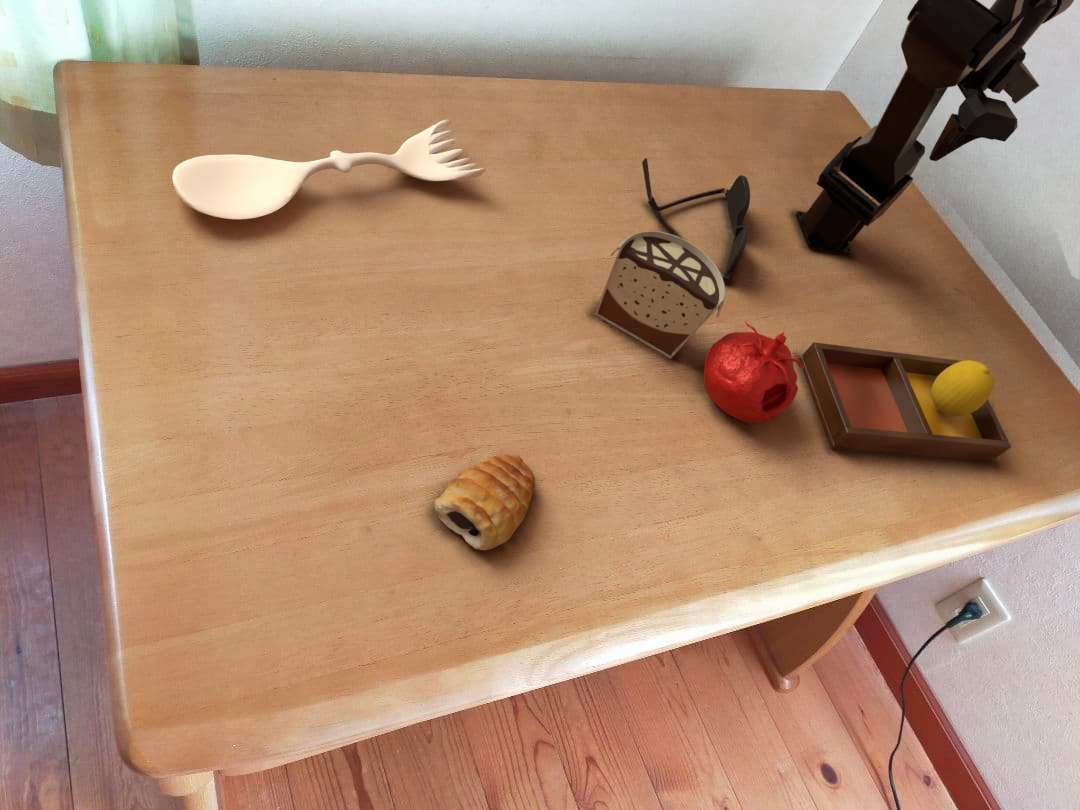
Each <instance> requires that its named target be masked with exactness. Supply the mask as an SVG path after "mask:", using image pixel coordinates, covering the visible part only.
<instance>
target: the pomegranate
mask: <svg viewBox="0 0 1080 810" xmlns="http://www.w3.org/2000/svg"><path fill="white" fill-rule="evenodd" d="M744 323H745V325H746V326H747V327H748V328H750V329H751V330H753V331H734V332H730V333H728V334H727V333H726V334H725V335H724V336H722V337H721V338H719V340H717V341H716V342H714V343H713V344H712V345H711V346H710V348H709V349H708V352H707V354H706V358H705V360H704V367H703V383H704V385H703V386H704V389H705V391H706V394H707V395H708V397H709V398H710V399H711V400H712V401H713V402H714V403H715V404H716V406H717V407H719V409H720V410H722V412H724V413H726V414H727V415H729V416H731V417H732V418H735V419H737V420H739V421H741V422H746V423H752V424H760V423H764V422H767V421H768V420H771V419H773V418H775V417H776V416H778V415H780V414H782V413H783V412H785V411H786V410H787V409H789V407H790V406H791V405H792V403H793V401H794V400H795V398H796V395H797V392H798V390H799V386H798V385H797V381H798V374H797V372H796V370H795V367H794V362H795V363H796V364H797V365H798V367H799V368H800V369H802V368H804V366H802V365H801V363H800V361H799V358H796V357H793V356H792V352H791V350H790V349H789V347H788V345H786V344H785V343H786V341H787V336H786V335H784V334H785V332H784V331H783V332H781V333H778V335H776V336H775V338H772V337H769V336H767V335H764V334H762V333H761V334H760V333H759V332H757V329H756V328H755V327H754V326H752V325H750V324H749V323H748V322H747V320H744Z"/></svg>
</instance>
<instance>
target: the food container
mask: <svg viewBox="0 0 1080 810" xmlns="http://www.w3.org/2000/svg"><path fill="white" fill-rule="evenodd" d="M682 238H683V237H682ZM682 238H680V237H678V236H675V235H672V234H671V233H670V232H669V233H668V232H665V231H659V230H658V231H657V230H645V231H639V232H636V233H634V234H632V235H630V236H628V237H627V238H625V239H624V240H623V241H622V242H620V243H619V244H618V246H617V247H616V248H615V249H614V250H613V251H612V252H611V253H610V257H612V256H613V255H614V254H615V253H616V252H617V251H618V252H617V255H616V257H615V261H614V263H613V266H612V267H611V271H610V274H609V275H608V278H607V281H606V283H605V286H604V289H603V291H602V294H601V296H600V299H599V302H598V304H597V306H596V309H595V312H594V315H595V316H596V317H598V318H599V319H600V320H603V321H605V322H606V323H608V324H610V325H612V326H613V327H614V328H617V329H619V330H620V331H622V332H624V333H625V334H627V335H628V336H630V337H632V338H635V339H636V340H638V341H639V342H641V343H643V344H644V345H645V346H648V347H650V348H651V349H653V350H654V351H656V352H658V353H660V354H661V355H663V356H665V357H666V358H669V359H670V360H671V359H672V358H673V357H674V356H675V355H676V354H677V353H678V352H679V351H680V349H682V347H684V346H685V344H686V343H687V342H688V341H689V339H691V338H692V337H693V335H694V334H695V333H697V331H699V329H700V328H701V327H702V326H703V325H704V324H705V323H706V322H707V320H708V319H709V318H711V316H712V315H713V314H714V313H715V312H716V311H717V314H716V318H719V316H720V315H721V314H720V313H721V312H722V309H723V306H724V302H725V295H726V294H725V293H726V288H725V281H723V279H722V276H721V274H722V273H721V272H720V270H719V269H718V267H717V265H716V264H715V262H714V261H713V260H712V258H710V257H709V256H708V255H707V254H706V253H705V252H704V251H703V250H701V248H699V247H698V246H697V245H695V244H693V243H691V242H690V241H688V240H687V239H684V238H683V239H682Z"/></svg>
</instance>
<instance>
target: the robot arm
mask: <svg viewBox="0 0 1080 810" xmlns="http://www.w3.org/2000/svg"><path fill="white" fill-rule="evenodd" d="M1074 2H1075V0H995V1H994V2H993V3H992V5H991V6H990V7H989V8H988V6H985V4H983V3H981V2H980V1H979V0H917V1H916V2H915V3H914V5H913V7H912V8H911V10H910V11H909V13H908V14H907V18H906V20H907V21H908V23H907V26H906V28H905V31H904V34H903V36H902V40H901V42H900V48H901V51H902V55H903V58H904V61H905V64H906V69H905V71H904V73H903V74H902V77H901V78H900V81H899V82H898V85H897V87H896V88H895V90H894V92H893V94H892V96H891V98H890V100H889V102H888V104H887V106H886V108H885V110H884V112H883V114H882V116H881V118H880V120H879V121H878V123H877V125H874V126H873V127H872V128H870V130H869V131H867V132H866V134H864V135H863V136H862V135H860V136H858V137H857V138H856V139H854V140H853V141H848V142H847V143H846V144H845V145H844V146H843V147H842V148H841V149H840V151H839V152H837V154H836V155H835V156H834V157H833V158H832V159H831V160H830V161H829V163H828V164H827V165H826V166H825V168H824V169H823V170H822V171H821V173H820V174H819V176H818V180H817V181H816V185H817V186H818V187H820V188H821V189H822V190H821V192H820V194H819V195H818V196H817V197H816V199H815V200H814V202H813V203H812V204H811V206H810V207H809V208H808V210H807V211H801V210H798V211H796V213H795V217H796V220H797V223H798V226H799V227H800V230H801V233H802V235H803V237H804V240H805V242H806V244H807V247H808V248H809V249H811V250H817V251H821V252H822V251H823V252H829V253H835V254H839V255H840V254H842V255H847V256H849V255H851V253H852V251H853V250H852V248H851V245H850V244H849V243H852V242H853V241H854V240H855V238H856V237H857V236H858V234H859V233H860V232H861V231H862V230H863V228H864V227H865V226H866V227H868V226H869V225H871V224H872V223H874V222H875V221H876V220H878V219H880V218H881V217H883V215H884V214H885V213H886V212H887V210H889V209H890V207H891V206H892V205H893V204H894V203H895V202H896V201H897V199H899V198H900V196H901V195H902V194H903V193H904V192H905V190H907V188H908V187H909V186H910V185H911V183H912V182H913V181H914V177H913V176H912V175H913V173H914V172H915V170H916V168H917V166H918V165H919V162H920V161H921V160H922V158H923V156H924V155H925V153H926V146H925V145H924V144H922V143H921V141H919V140H917V139H918V138H919V136H920V134H921V133H922V131H923V130H924V128H925V126H926V125H927V123H928V122H929V120H930V118H931V116H932V114H933V113H934V111H935V109H936V108H937V106H938V105H939V103H940V101H941V100H942V98H943V96H944V94H945V93H946V92H947V90H948V88H952V87H956V86H957V87H958V89H959V90H960V93H961V94H962V95H963V97H964V98H965V99H964V100H963V101H962V102H961V103H960V105H959V106H958V110H957V114H956V113H951V114H950V115H949V117H948V120H947V122H946V123H945V125H944V128H943V129H942V131H941V133H940V135H939V136H938V138H937V140H936V142H935V144H934V146H933V148H932V150H931V152H930V155H929V157H928V158H929V160H930V161H932V162H938V161H940V160H942V159H943V158H945V157H946V156H947V155H949V154H951V153H953V152H954V151H956V150H958V149H959V148H961V147H963V146H965V145H966V144H968V143H970V142H972V141H975V140H978V139H982V138H983V139H987V140H991V141H992V140H995V141H1000V142H1004V143H1005V142H1006V141H1007V140H1008V139H1009V138H1010V137H1011V135H1012V134H1013V133H1014V132H1015V131H1016V130H1017V129H1018V118H1017V116H1016V115H1015V114H1014V112H1013V110H1012V109H1011V107H1010V106H1009V104H1008V103H1007V102H1006V101H1005V100H1001V99H997V98H993V97H989V96H987V94H986V93H985V91H986V90H990V91H991V92H992V93H995V94H1001V92H1002V91H1004V92H1005V93H1006V94H1007V95H1008V96H1009V97H1010V98H1011V102H1012V103H1013V104H1018V103H1019V102H1020V101H1021V100H1023V99H1024V98H1025V97H1027V96H1028V95H1030V94H1031V93H1032V92H1033V91H1035V90H1036V89H1037V88H1039V87H1040V84H1039V82H1038V81H1037V79H1036V78H1035V77H1034V75H1033V74H1032V73H1031V71H1030V69H1029V68H1028V67H1027V66H1026V65H1025V63H1024V61H1025V59H1026V55H1027V52H1026V51H1025V50H1024V46H1025V45H1026V44H1027V42H1029V40H1030V39H1031V38H1032V37H1033V35H1034V34H1035V32H1036V31H1038V29H1039V28H1040V27H1041V25H1043V24H1045V23H1047V22H1048V21H1051V20H1052V19H1054V18H1055V17H1057V16H1059V15H1061V14H1062V13H1064V12H1065V11H1067V10H1068V9H1069V8H1070V7H1071V6H1072V4H1073V3H1074ZM840 172H841V173H840ZM842 174H843V175H844V176H843V175H842ZM845 176H846V177H847V178H848V179H847V178H846V177H845ZM849 180H850V181H849ZM851 181H852V182H853V183H854V184H855V185H854V184H853V183H852V182H851ZM856 185H857V186H856ZM859 188H860V189H861V190H860V189H859ZM863 191H864V192H865V193H866V194H867V195H866V194H865V193H864V192H863ZM868 195H869V196H870V197H871V198H872V199H871V198H870V197H869V196H868ZM875 201H876V202H877V203H876V202H875Z"/></svg>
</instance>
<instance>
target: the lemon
mask: <svg viewBox="0 0 1080 810" xmlns="http://www.w3.org/2000/svg"><path fill="white" fill-rule="evenodd" d="M959 361H960V362H957V363H955V364H953V365H951V366H949V367H948V368H946V369H945V370H944V371H942V372H941V373H940V374H939V375H938V377H937V378H936V380H935V381H934V383H933V385H932V390H931V396H932V401H933V403H934V405H935V406H936V409H937V410H938V411H941V412H943V413H944V414H947V415H950V416H965V415H968V414H970V413H972V412H974V411H976V410H977V409H979V408H980V407H981V406H982V405H983V404H984V403H985V402H986V401H987V399H988V400H989V398H990V396H991V395H992V393H993V390H994V386H995V380H994V376H993V373H992V372H991V370H990V368H989V367H988V366H987V365H985V364H983V363H981V362H979V361H976V360H967V359H966V360H959Z"/></svg>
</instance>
